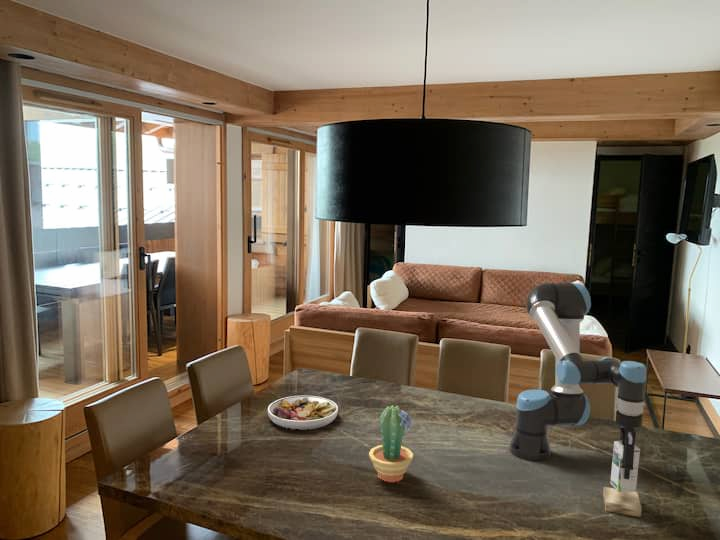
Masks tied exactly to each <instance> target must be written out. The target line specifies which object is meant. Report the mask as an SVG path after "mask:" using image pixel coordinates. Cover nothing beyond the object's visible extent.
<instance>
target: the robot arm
mask: <svg viewBox="0 0 720 540" xmlns="http://www.w3.org/2000/svg"><path fill="white" fill-rule="evenodd" d="M590 295H591V294H590V293H589V291H588V289H587V287H586V286H585V285H583V284H582V283H576V282H554V283H551V282H544V283H540V284H537V285H535V286H534V287H533V288H532V289H531V290H530V291H529V293H528V294H527V297H526V301H525V302H526V303H525V305H526V306H525V308H526V311H527V313H528V315H529V317H530V319H531V320H532V321H534V322H536V324H537V326H538V329H540V332H541V334H542V335H543V337H544V339H545V341H546V343H547V345H548V346H549V348H550V350H551V352H552V353H553V355H554V358H555V369H554V370H555V372H554V373H555V375H554V376H555V380H554V381H555V384H554V385H553V386H552V387H551V389H550V393H549V392H548V391H546V390H543V389H538V388H537V389H528V390H527V389H526V390H524V391H522V392H520V393H519V394H518V396H517V398H516V404H515V405H516V409H515V410H516V413H515V431H514V433H513V434H512V437H511V439H510V441H509V451H510V453H511V454H513V456H515V457H518V458H520V459H524V460H526V461H527V460H528V461H536V462H537V461H545V460H547V459H550V457H551V456H552V455H551V454H552V449H551V447H552V446H551V444H550V440H549V436H548V427H565V426H570V427H574V426H582V425H583V424H585V423H586V422H587V421H588V418H589V416H590V412H591V405H590V402H589V398H588V396H587V395H586V394H584V390H583V389H582V387H580V385H606V384H607V385H613V386H615V387H616V388H617V396H616V406H615V407H616V408H615V409H616V411H615V422H616V424H617V425H619V426H620V428H619V430H620V432H619V433H620V434H619V441H622V445H623V447H624V454H623V465H622V466H620V468H622V471H621V483H620V487H622V488H628V489H630V484H631V472H632V470H633V460H634V445H636V444H635V443H636V431H635V429H638V428H640V427H642V426H643V417H644V416H643V413H644V407H646V403H645V401H644V400H645V393H646V383H647V379H648V378H647V367H646V365H645V364H644V363H641V362H637V361H633V360H624V361H620V360H618V359H616V358H614V357H609V356H604V357H601V358H599V359H598V360H593V359H592V360H588V359H587V360H584V358H583V357H582V355H581V353H580V343H581V342H580V335H581V333H580V330H581V329H580V328H581V327H580V326H581V325H580V324H581V323H582V322H583V321H584V319H585V314H588V313H589V312H590V309H591V307H592V302H591V301H592V300H591V299H592V298H591V296H590Z"/></svg>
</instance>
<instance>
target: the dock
mask: <svg viewBox="0 0 720 540" xmlns="http://www.w3.org/2000/svg"><path fill="white" fill-rule="evenodd" d="M602 490H603V491H602V497H603V504H604V509H605V511H606V512H610V513H615V514H621V515H625V516H632V517H636V518H637V517H639V518H642V509H643V507H642V505H641V501H640V498H639V493H638V492H637V491H636V492H618V490H617V489H616V488H615V487H613V488H612V487H607V486H603V489H602Z"/></svg>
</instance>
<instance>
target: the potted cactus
mask: <svg viewBox="0 0 720 540" xmlns="http://www.w3.org/2000/svg"><path fill="white" fill-rule="evenodd" d="M411 426H412V420H411V417H410V415H409V413H407V412H405V411H404V410H402V409H401V408H400V407H399V406H398V405H396V406H395V405H393V404H392V405H391V406H390V405H389V406H388V405H387V406H386V407H385V409H384V410H383V411H382V413H381V414H380V416H379V429H380V432H381V437H382V444H380V445H379V444H378V445H377V446H374V447H372V448H371V449H370V450H369V452H368V457H369V459H370V460H371V462H372V466H373V467H374V469H375V470H376V473H377V475H378V476H377V477H378V479H379V478H380V479H379V480H381V479H382V480H381V481H383V480H384V482H386V481H387V482H388V483H396V481H397V482H400V481H401V480H403V478H404V474H405V473H406V472H407V470H408V468H409V465H410V464H411V463H412V461H413V457H414V453H413V452H412V451H411V450H410V448H407V447H406V446H404V445H403V446H402V442H403V437H404V436H405V434H406V432H407V431H408V430H409V429H411Z"/></svg>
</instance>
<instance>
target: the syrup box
mask: <svg viewBox="0 0 720 540" xmlns="http://www.w3.org/2000/svg"><path fill="white" fill-rule="evenodd" d="M640 452H641V448H640V447H638V446H637V445H636V444H635V445H634V460H633V470H632V472H631V484H630V489H628V488H622V487H620V483H621V471H622V468H620V466H622V465H623V454H624V447H623V445H622V441H620V440H614V442H613V450H612V462H611V473H610V485H611V486H613V488H614V489H617V490H618V492H637V484H638V483H637V482H638V472H639V462H640V454H641V453H640Z"/></svg>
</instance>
